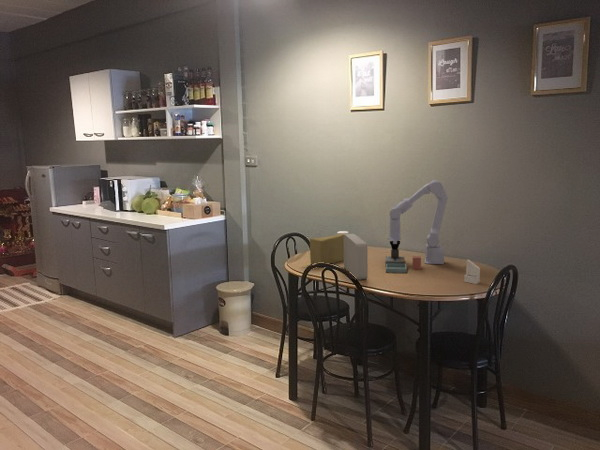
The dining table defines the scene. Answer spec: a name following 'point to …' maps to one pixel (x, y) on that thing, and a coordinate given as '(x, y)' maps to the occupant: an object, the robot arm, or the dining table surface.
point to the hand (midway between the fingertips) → (394, 254)
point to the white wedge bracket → (472, 273)
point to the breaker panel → (394, 260)
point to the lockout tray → (396, 268)
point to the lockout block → (416, 262)
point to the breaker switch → (394, 253)
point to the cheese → (327, 249)
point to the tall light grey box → (355, 256)
